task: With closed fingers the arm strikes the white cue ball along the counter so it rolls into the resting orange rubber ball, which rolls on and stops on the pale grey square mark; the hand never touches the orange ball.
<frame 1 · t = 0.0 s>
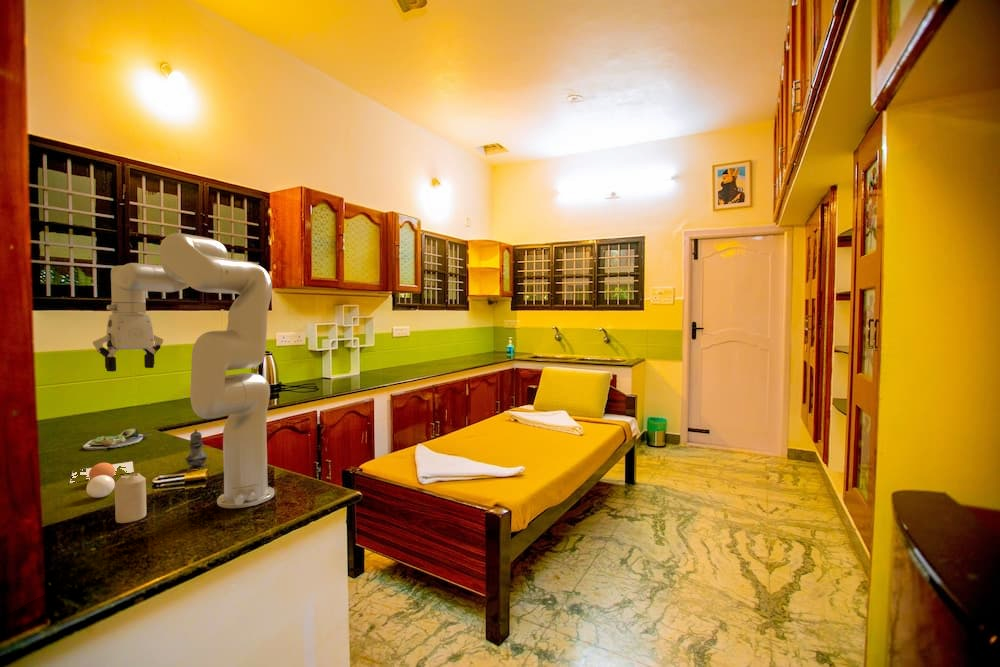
hand: (130, 369, 132), 31 cm above the counter, tool pointing down, fingers open, 9 cm apart
cue ball: (100, 486, 118), on the counter
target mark: (103, 472, 138), on the counter
object ball: (102, 472, 129), on the counter
candle: (131, 519, 105), on the counter
salad plate: (116, 445, 171), on the counter
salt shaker: (196, 468, 141), on the counter
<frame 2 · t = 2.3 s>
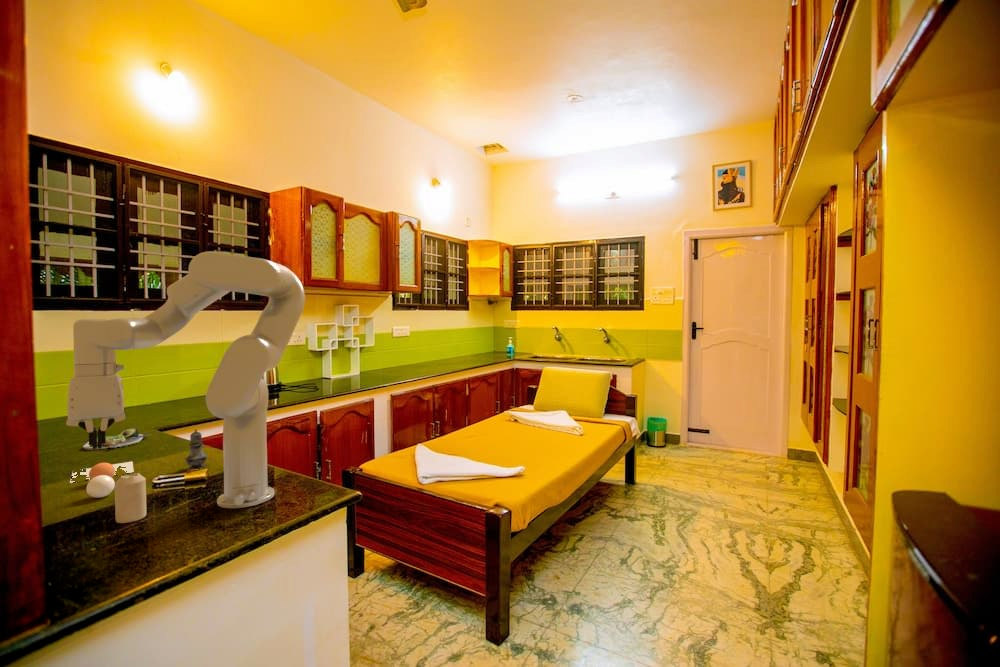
hand: (97, 447, 110), 15 cm above the counter, tool pointing down, fingers closed
nothing on the counter moved.
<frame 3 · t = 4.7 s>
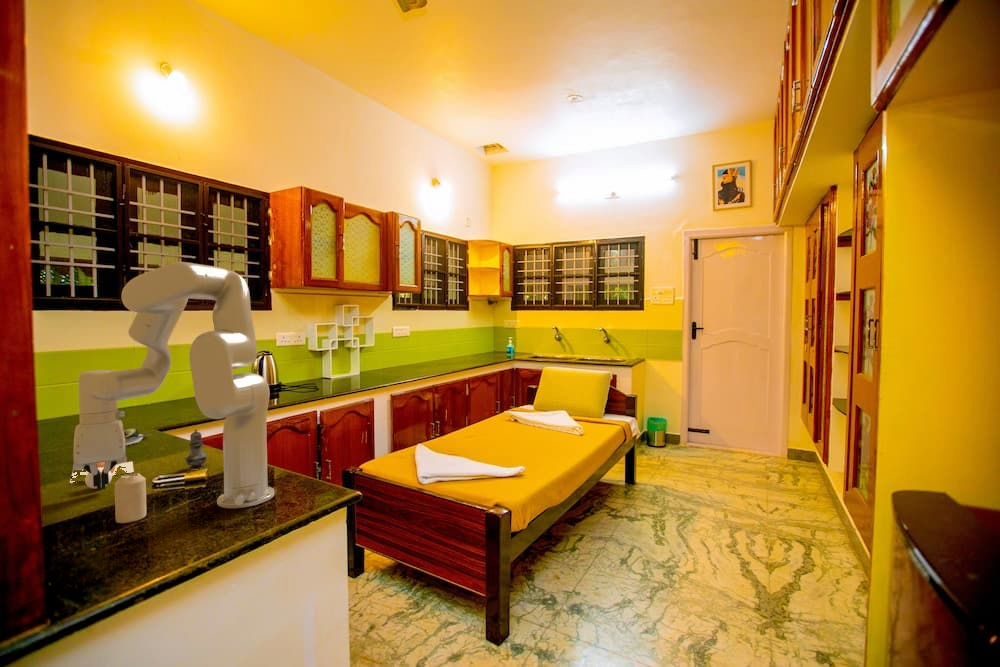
hand: (101, 488, 120), 2 cm above the counter, tool pointing down, fingers closed
cue ball: (98, 478, 124), on the counter
object ball: (102, 468, 132), on the counter
everything else where it was.
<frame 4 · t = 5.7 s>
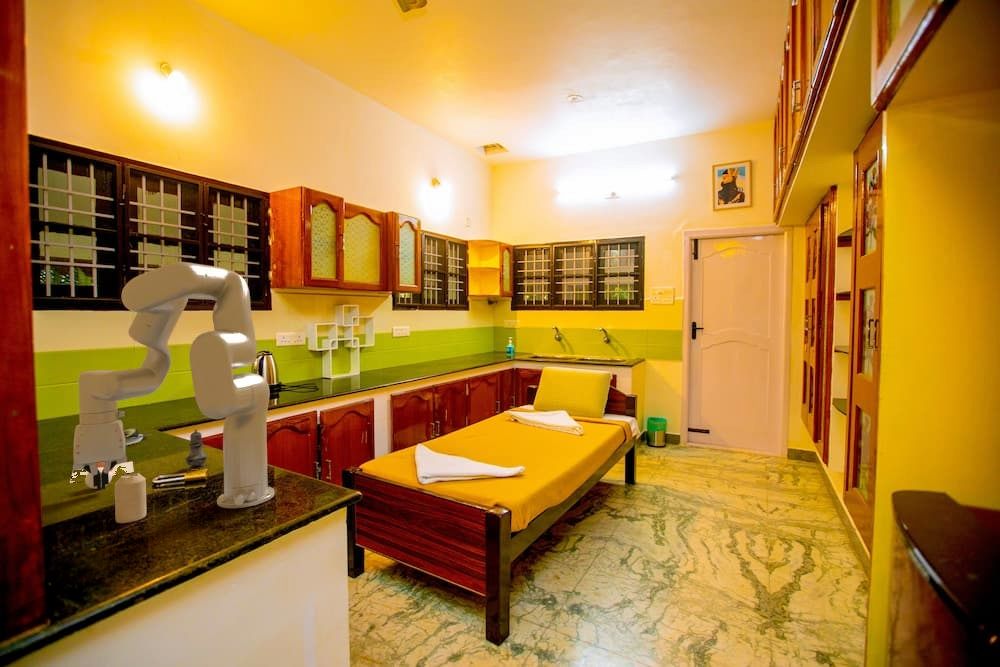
hand: (101, 488, 120), 2 cm above the counter, tool pointing down, fingers closed
object ball: (102, 465, 135), on the counter
everything else where it was.
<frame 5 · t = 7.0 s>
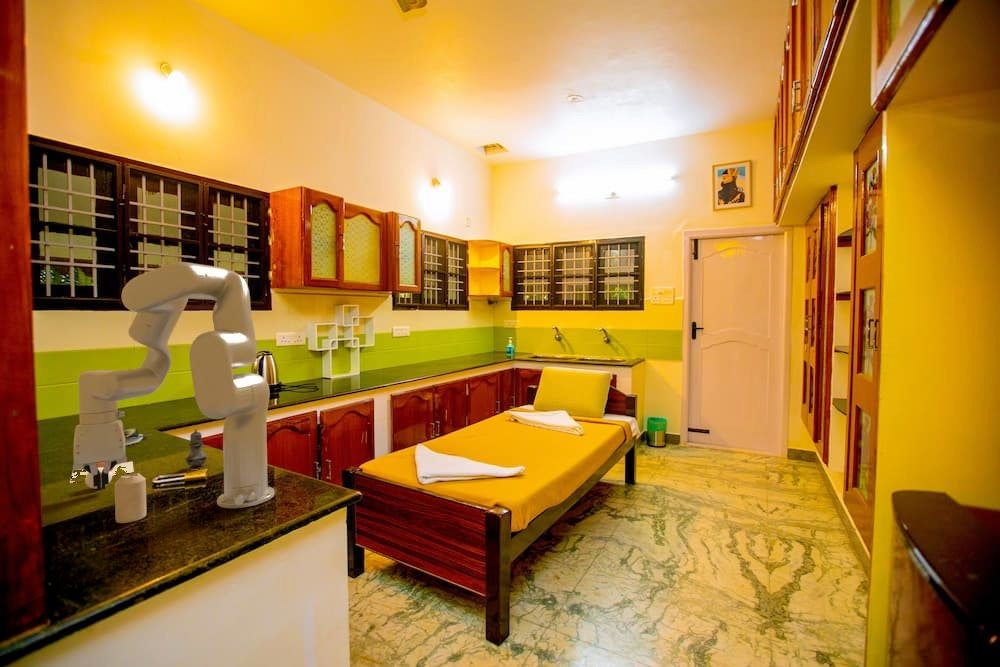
hand: (101, 488, 120), 2 cm above the counter, tool pointing down, fingers closed
nothing on the counter moved.
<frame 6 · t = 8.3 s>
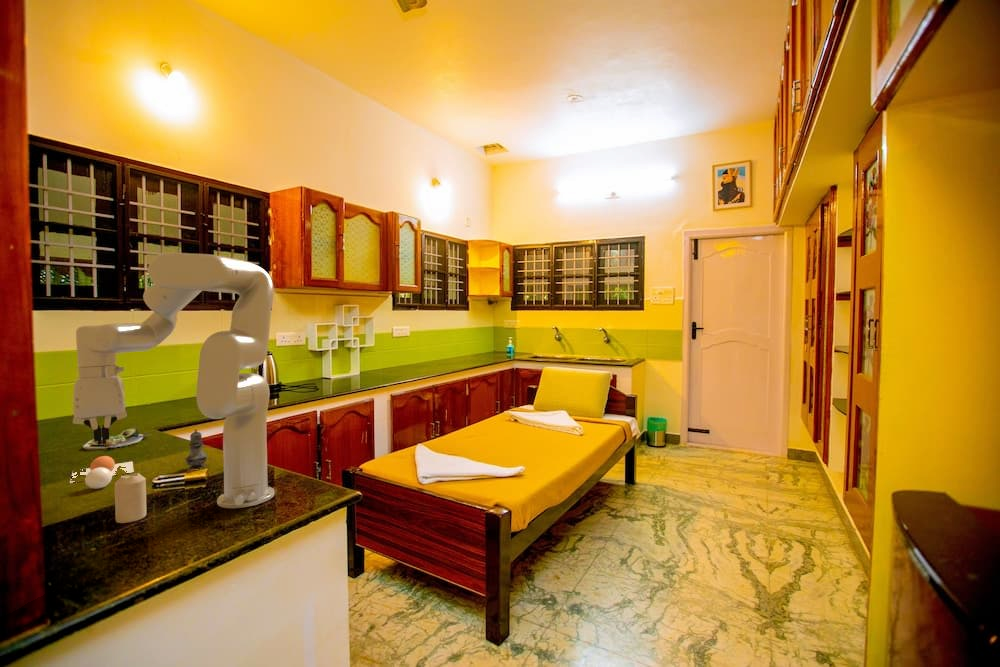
hand: (102, 443, 120), 13 cm above the counter, tool pointing down, fingers closed
nothing on the counter moved.
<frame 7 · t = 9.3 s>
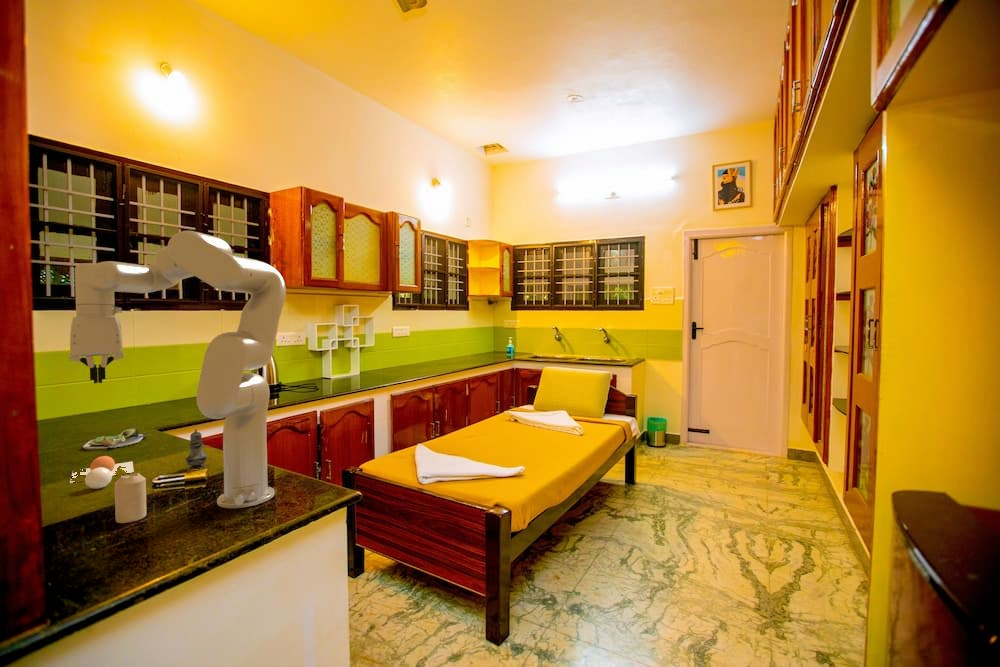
hand: (98, 382, 119), 29 cm above the counter, tool pointing down, fingers closed
nothing on the counter moved.
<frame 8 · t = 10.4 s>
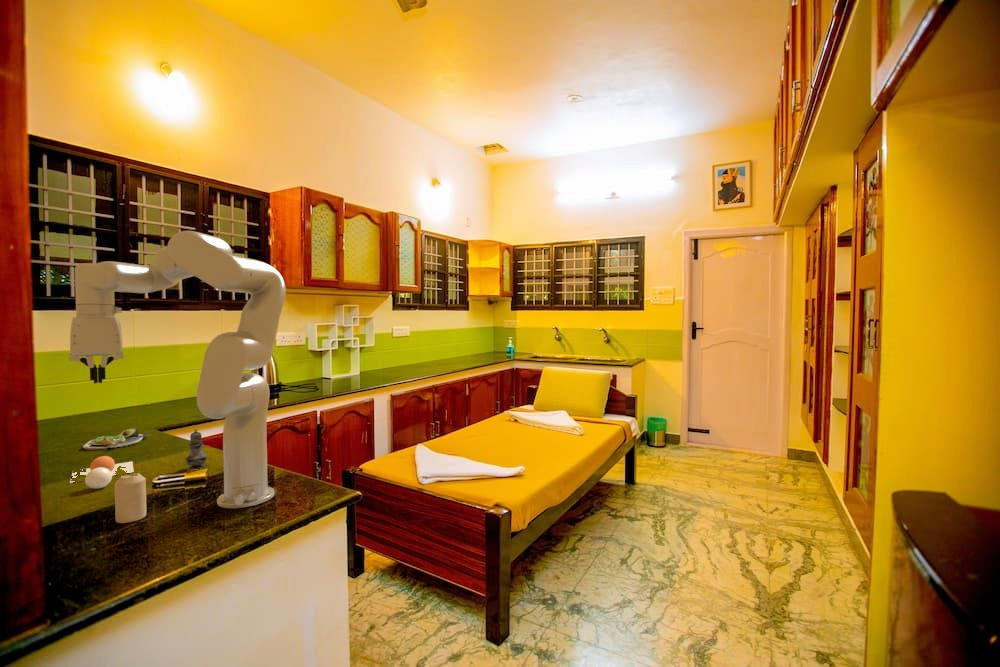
hand: (98, 382, 119), 29 cm above the counter, tool pointing down, fingers closed
nothing on the counter moved.
at the end: object ball 3.6 cm from the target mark (horizontally); object ball never touched the robot; cue ball first touched object ball at 4.2 s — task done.
